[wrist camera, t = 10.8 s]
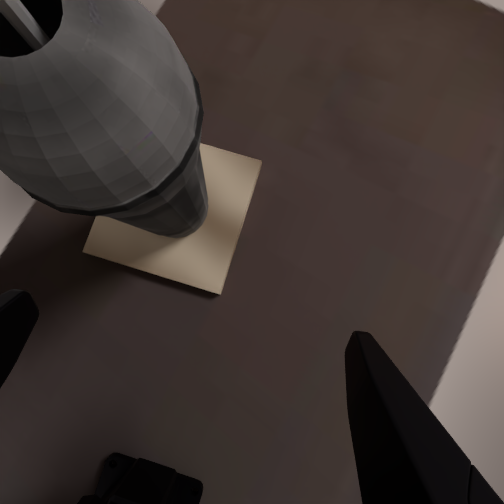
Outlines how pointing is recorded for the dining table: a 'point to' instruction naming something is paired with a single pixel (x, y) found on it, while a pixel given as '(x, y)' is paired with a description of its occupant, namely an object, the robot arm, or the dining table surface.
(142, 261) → the coaster board
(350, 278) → the dining table surface
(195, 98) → the beverage cup
